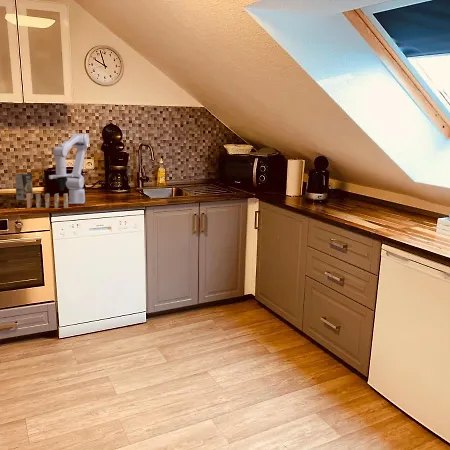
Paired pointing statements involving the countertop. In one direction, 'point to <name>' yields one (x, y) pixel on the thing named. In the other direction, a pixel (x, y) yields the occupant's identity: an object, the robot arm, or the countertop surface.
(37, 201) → the domino
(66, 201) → the domino
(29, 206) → the end domino
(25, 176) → the coffee box
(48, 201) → the domino
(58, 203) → the domino
